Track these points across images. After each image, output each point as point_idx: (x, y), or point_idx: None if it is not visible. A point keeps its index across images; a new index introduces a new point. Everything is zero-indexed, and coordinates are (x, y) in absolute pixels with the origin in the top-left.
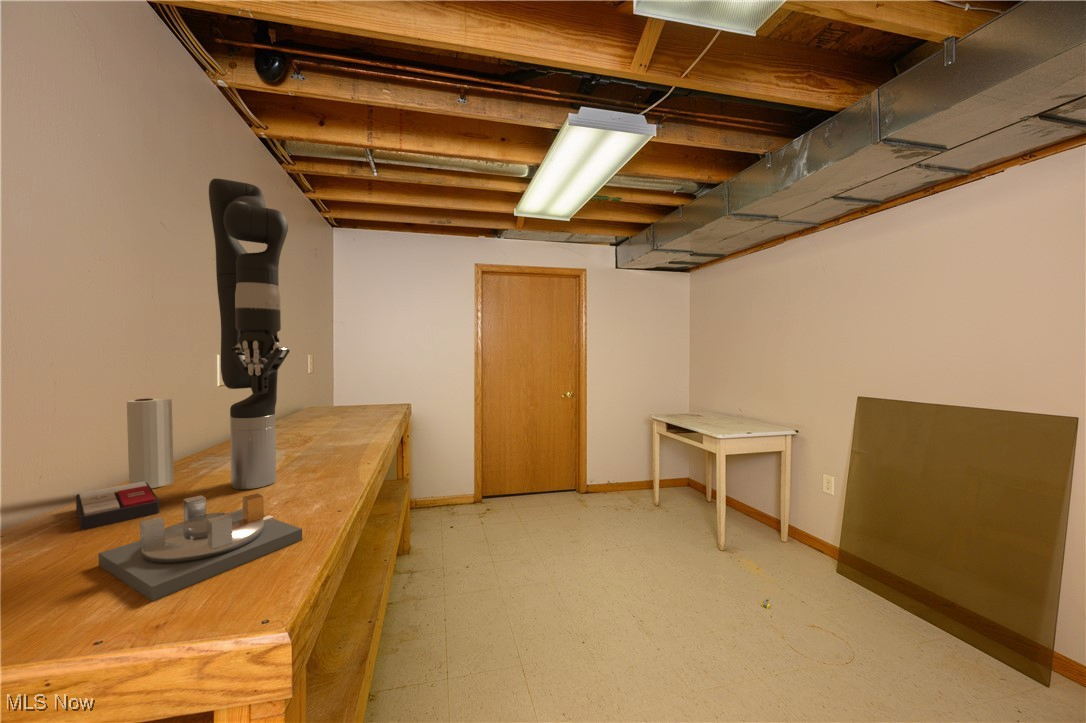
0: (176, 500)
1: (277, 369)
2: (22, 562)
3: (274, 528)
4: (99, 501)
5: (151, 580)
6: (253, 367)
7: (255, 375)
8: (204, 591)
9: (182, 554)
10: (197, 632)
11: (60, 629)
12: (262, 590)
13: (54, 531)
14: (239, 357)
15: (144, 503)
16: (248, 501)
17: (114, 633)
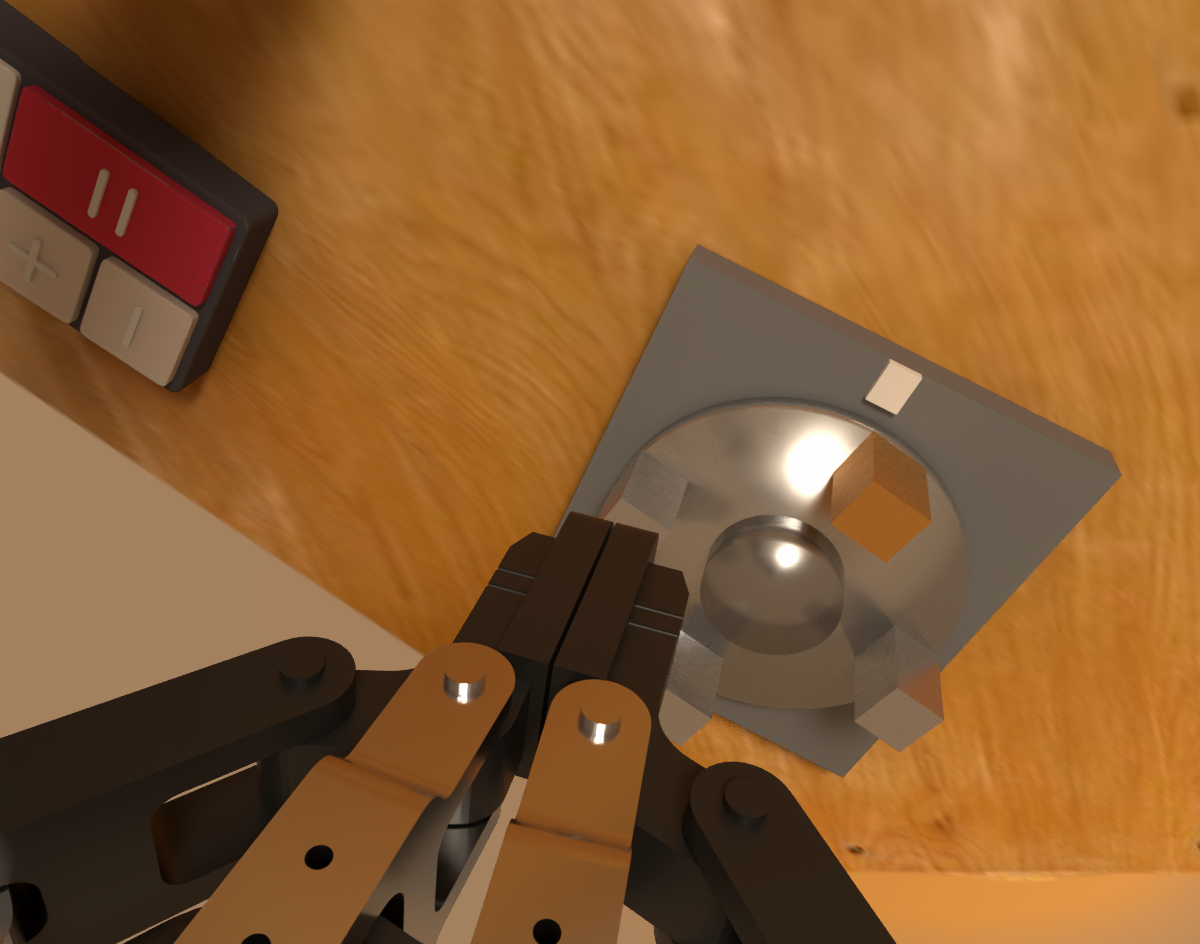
0: (184, 41)
1: (802, 820)
2: (312, 561)
3: (985, 470)
4: (79, 289)
5: (813, 752)
6: (466, 875)
7: (517, 758)
8: (949, 725)
9: (824, 706)
10: (1052, 854)
11: None
12: (1125, 738)
13: (136, 381)
14: (120, 940)
15: (226, 256)
16: (886, 557)
17: (862, 832)
